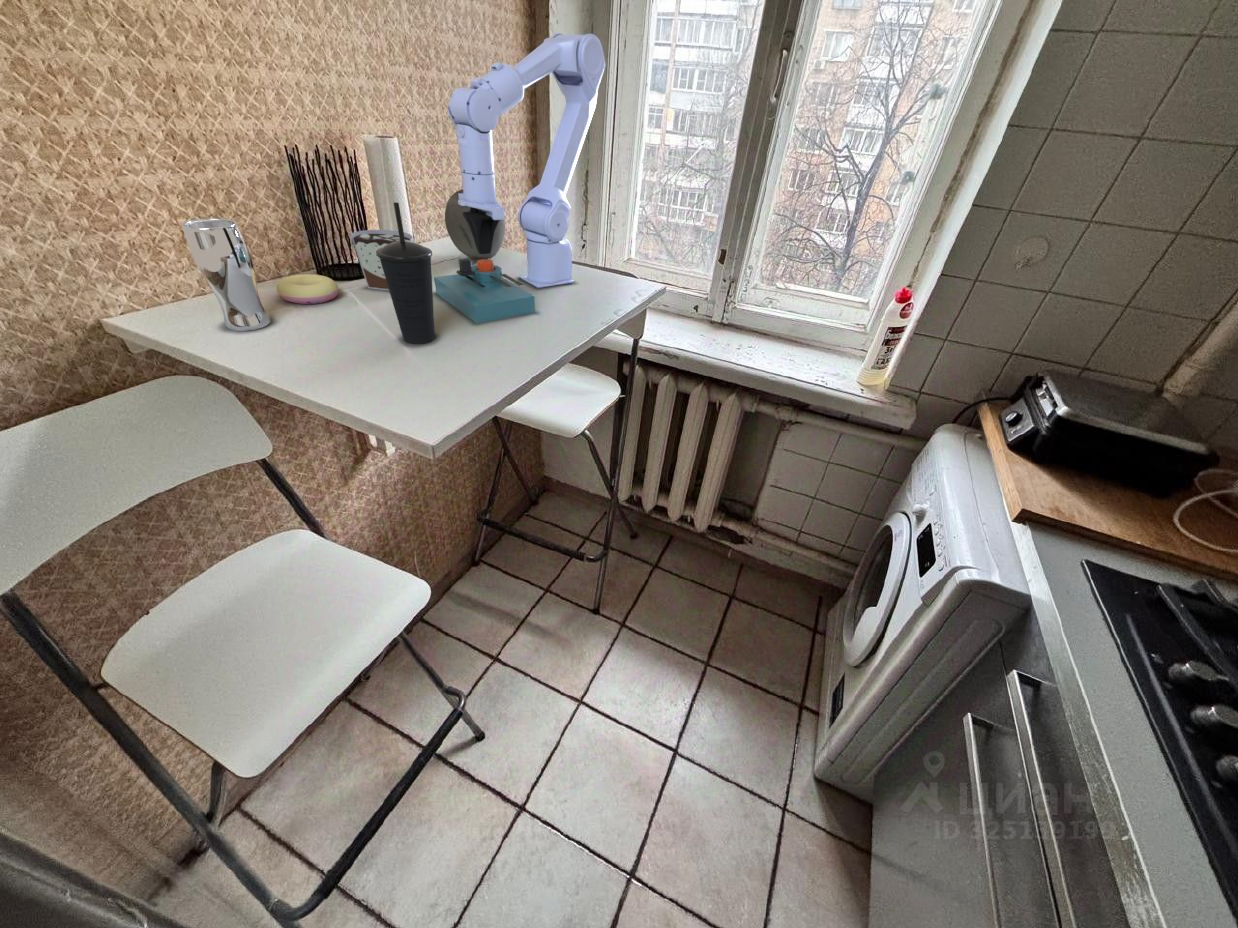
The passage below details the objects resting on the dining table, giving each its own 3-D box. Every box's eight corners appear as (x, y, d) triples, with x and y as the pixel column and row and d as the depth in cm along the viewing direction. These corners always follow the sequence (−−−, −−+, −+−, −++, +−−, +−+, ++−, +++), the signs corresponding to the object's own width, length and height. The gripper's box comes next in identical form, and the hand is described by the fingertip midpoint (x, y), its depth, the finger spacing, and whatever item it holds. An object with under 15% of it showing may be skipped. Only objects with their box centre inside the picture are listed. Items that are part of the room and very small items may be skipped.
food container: (433, 285, 101) (426, 233, 95) (421, 294, 96) (412, 240, 90) (376, 278, 101) (365, 226, 95) (360, 287, 97) (348, 233, 91)
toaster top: (496, 269, 97) (496, 269, 97) (523, 284, 91) (523, 284, 90) (453, 274, 92) (453, 274, 92) (479, 291, 86) (479, 291, 86)
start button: (489, 267, 99) (488, 258, 98) (497, 272, 97) (496, 262, 96) (474, 269, 97) (474, 260, 96) (482, 273, 95) (481, 264, 94)
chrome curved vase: (284, 321, 81) (250, 223, 72) (245, 335, 76) (203, 231, 66) (251, 313, 82) (214, 216, 73) (211, 326, 77) (166, 223, 68)
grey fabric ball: (519, 262, 120) (516, 193, 111) (467, 269, 111) (459, 196, 102) (489, 248, 127) (484, 183, 118) (438, 254, 119) (428, 185, 110)
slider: (470, 271, 93) (469, 257, 91) (475, 274, 92) (474, 260, 90) (456, 273, 91) (455, 259, 90) (461, 276, 90) (459, 261, 89)
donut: (311, 298, 96) (268, 305, 88) (303, 273, 94) (259, 278, 86) (352, 298, 93) (312, 306, 85) (345, 272, 91) (304, 278, 83)
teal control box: (491, 285, 104) (489, 261, 101) (535, 312, 93) (534, 286, 90) (436, 293, 97) (432, 267, 94) (476, 323, 87) (473, 295, 84)
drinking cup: (416, 353, 75) (390, 210, 64) (384, 339, 78) (353, 201, 66) (454, 338, 81) (436, 205, 69) (422, 326, 84) (400, 196, 72)
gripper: (439, 166, 89) (449, 245, 97) (475, 179, 80) (482, 265, 88) (475, 166, 93) (481, 242, 101) (513, 179, 84) (516, 261, 92)
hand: (484, 253), depth 95 cm, fingers closed
